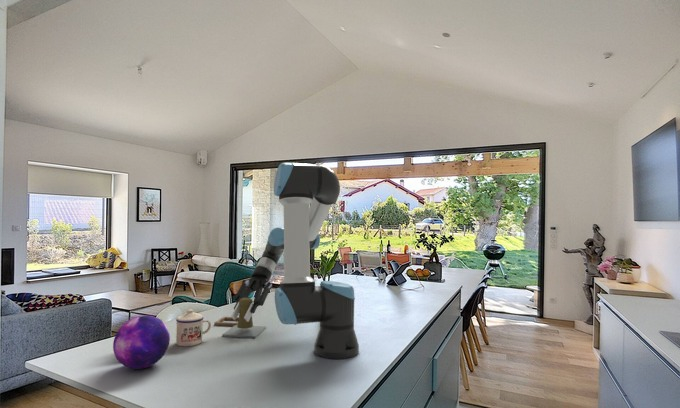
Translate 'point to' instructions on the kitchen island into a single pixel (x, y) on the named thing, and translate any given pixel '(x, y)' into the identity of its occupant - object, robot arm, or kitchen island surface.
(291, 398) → the kitchen island surface
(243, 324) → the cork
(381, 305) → the kitchen island surface
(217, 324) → the walnut collar
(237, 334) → the slate coaster
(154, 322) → the decorative orb
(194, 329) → the teacup with lid
